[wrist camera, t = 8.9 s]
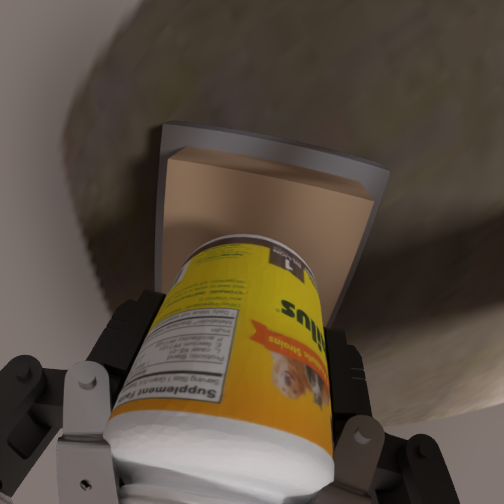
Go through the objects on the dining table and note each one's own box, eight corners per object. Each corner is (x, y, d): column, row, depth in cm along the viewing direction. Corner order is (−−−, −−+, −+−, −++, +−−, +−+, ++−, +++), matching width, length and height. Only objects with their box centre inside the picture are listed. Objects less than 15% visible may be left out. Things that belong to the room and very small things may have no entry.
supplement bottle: (327, 327, 13) (341, 572, 4) (209, 344, 14) (155, 557, 6) (302, 210, 11) (320, 578, 2) (159, 243, 12) (16, 498, 3)
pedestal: (382, 164, 16) (410, 189, 12) (328, 314, 22) (334, 361, 18) (172, 120, 16) (138, 132, 12) (161, 280, 22) (138, 322, 18)
